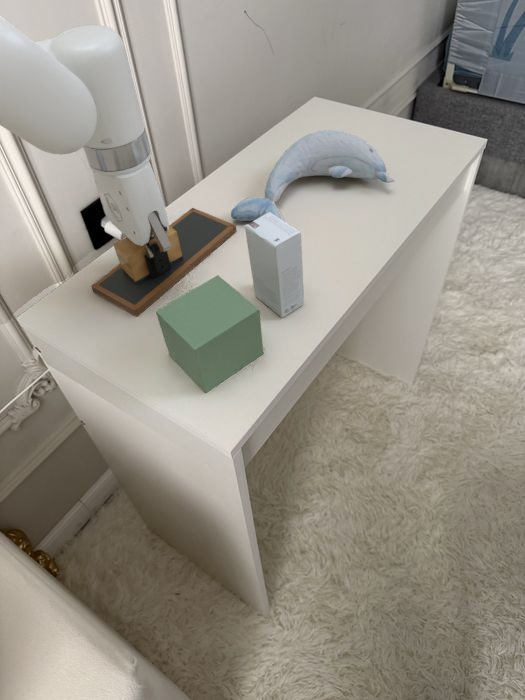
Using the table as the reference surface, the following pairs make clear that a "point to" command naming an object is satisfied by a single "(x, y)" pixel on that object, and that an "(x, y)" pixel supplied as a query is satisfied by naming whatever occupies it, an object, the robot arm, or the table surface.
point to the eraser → (135, 260)
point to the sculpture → (315, 168)
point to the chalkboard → (196, 244)
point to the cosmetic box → (276, 263)
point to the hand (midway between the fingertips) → (152, 264)
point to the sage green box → (211, 332)
